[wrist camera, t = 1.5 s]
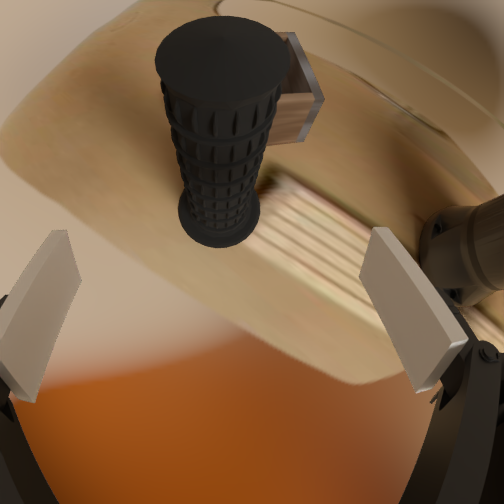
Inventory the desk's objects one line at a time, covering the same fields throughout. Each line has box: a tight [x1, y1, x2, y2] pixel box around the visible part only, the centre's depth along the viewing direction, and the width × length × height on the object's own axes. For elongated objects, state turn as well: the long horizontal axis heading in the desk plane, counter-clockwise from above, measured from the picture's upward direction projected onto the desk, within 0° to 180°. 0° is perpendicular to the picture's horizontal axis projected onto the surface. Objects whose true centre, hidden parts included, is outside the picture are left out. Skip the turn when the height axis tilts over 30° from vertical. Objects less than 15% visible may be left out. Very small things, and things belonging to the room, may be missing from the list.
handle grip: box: [155, 16, 291, 248], centre depth 25 cm, size 10×26×10 cm
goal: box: [266, 32, 325, 146], centre depth 37 cm, size 12×9×10 cm
